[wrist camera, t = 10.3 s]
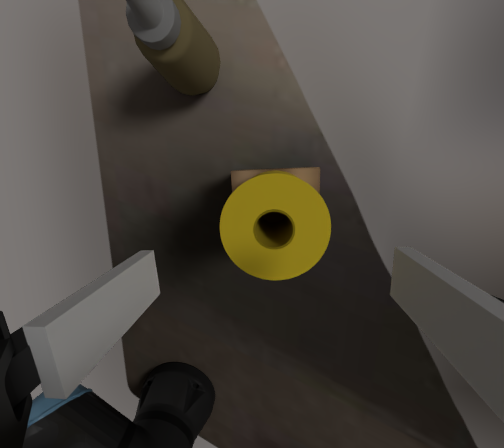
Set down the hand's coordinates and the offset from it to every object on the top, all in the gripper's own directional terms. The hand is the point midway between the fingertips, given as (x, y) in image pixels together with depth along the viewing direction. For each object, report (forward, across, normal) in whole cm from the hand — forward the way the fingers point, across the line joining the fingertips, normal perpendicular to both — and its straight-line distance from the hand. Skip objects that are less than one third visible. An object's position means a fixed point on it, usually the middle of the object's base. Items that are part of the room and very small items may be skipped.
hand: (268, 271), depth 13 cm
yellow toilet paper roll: (+18, 0, 0) cm, 18 cm away
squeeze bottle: (+27, -10, +20) cm, 35 cm away
